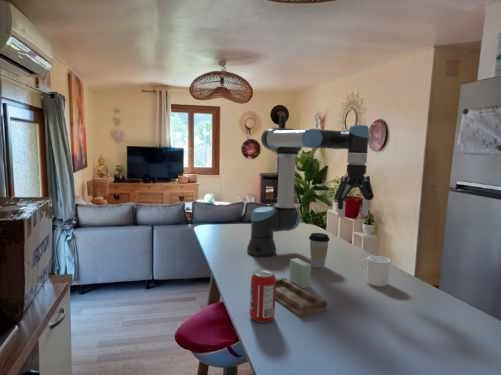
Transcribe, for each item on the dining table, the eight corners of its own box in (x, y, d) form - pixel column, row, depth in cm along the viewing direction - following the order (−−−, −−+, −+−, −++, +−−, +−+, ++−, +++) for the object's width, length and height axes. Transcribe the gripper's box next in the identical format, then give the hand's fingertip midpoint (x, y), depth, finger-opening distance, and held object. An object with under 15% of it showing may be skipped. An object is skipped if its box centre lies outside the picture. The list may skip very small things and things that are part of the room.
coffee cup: (328, 270, 155) (330, 238, 154) (307, 268, 157) (308, 236, 156) (327, 263, 165) (329, 233, 163) (307, 262, 166) (309, 231, 165)
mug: (387, 281, 145) (389, 257, 144) (389, 289, 137) (391, 263, 135) (360, 277, 149) (362, 254, 147) (360, 284, 140) (361, 260, 139)
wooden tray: (261, 289, 131) (261, 282, 131) (284, 285, 137) (285, 277, 137) (300, 317, 111) (300, 308, 110) (326, 310, 116) (326, 301, 116)
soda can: (266, 326, 104) (268, 279, 102) (244, 319, 108) (246, 273, 106) (278, 316, 111) (280, 271, 109) (257, 310, 115) (259, 266, 113)
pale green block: (289, 280, 142) (290, 259, 141) (295, 278, 144) (296, 258, 143) (302, 288, 134) (303, 265, 133) (309, 286, 136) (311, 264, 135)
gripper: (341, 164, 129) (337, 220, 131) (385, 164, 141) (381, 215, 144) (327, 163, 135) (324, 216, 137) (370, 163, 148) (367, 212, 150)
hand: (353, 216), depth 141 cm, fingers open, 13 cm apart
